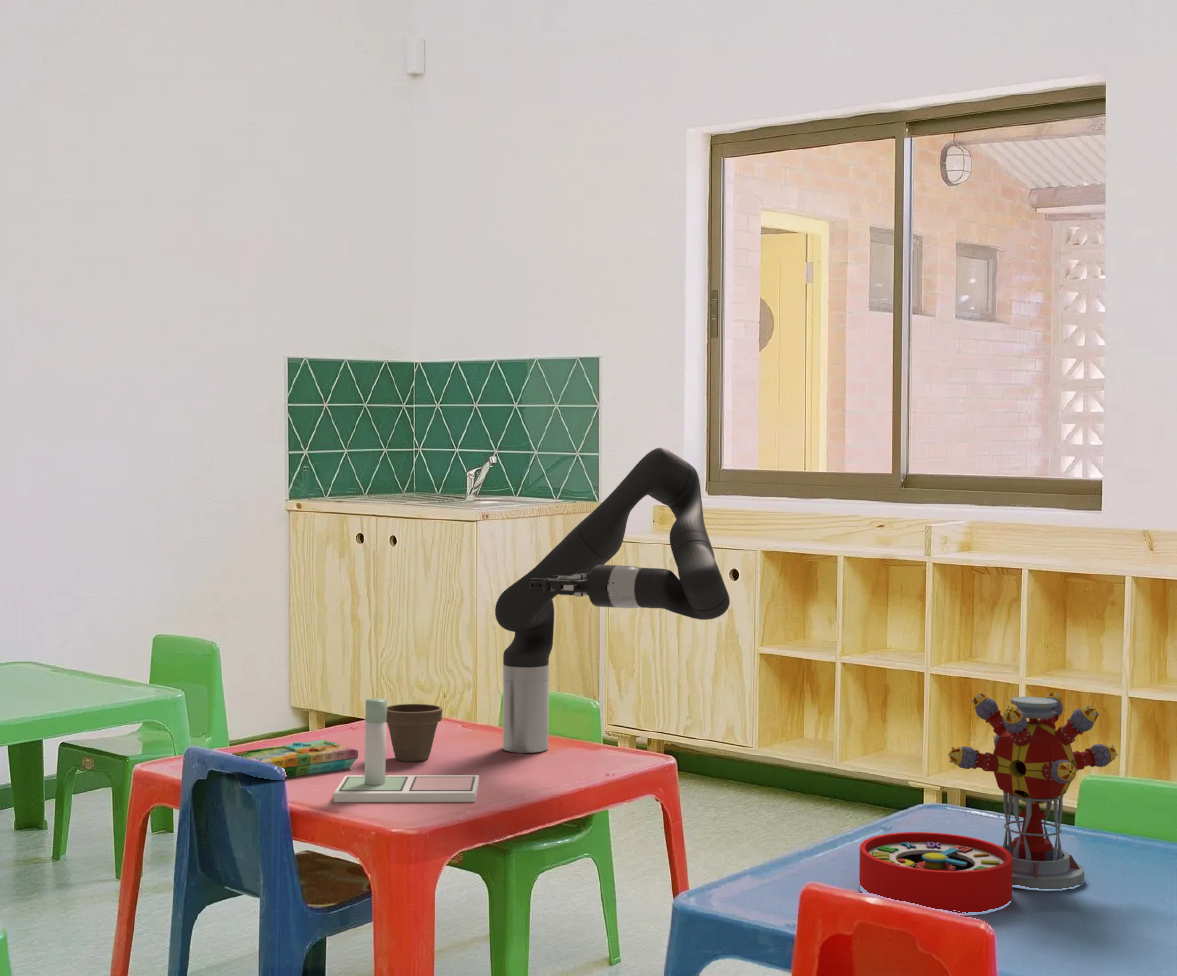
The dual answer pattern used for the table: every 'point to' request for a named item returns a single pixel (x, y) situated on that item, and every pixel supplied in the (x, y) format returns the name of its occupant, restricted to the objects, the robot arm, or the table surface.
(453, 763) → the table surface
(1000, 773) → the red knobbed tall piece
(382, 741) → the green marker
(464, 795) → the colouring board
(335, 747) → the puzzle game
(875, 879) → the toy clock
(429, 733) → the flower pot
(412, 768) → the table surface
